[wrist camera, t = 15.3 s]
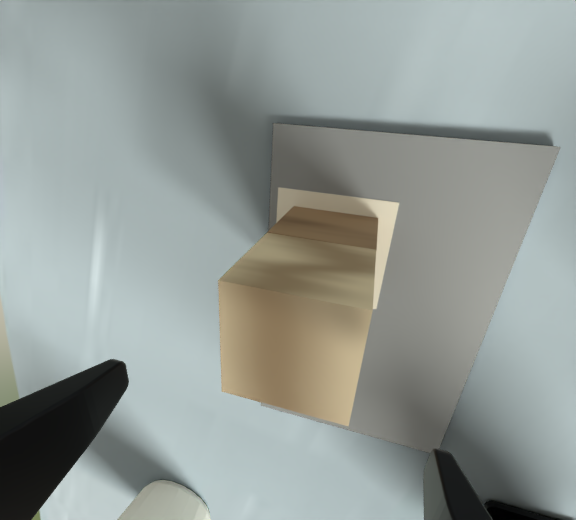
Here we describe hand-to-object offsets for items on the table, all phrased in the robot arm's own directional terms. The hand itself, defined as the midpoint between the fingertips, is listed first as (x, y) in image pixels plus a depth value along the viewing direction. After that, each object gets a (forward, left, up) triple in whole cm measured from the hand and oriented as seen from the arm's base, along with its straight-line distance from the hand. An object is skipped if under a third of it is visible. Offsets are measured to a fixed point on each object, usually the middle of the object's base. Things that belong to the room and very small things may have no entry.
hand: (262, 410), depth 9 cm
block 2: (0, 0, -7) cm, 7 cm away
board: (-3, +4, -13) cm, 14 cm away
